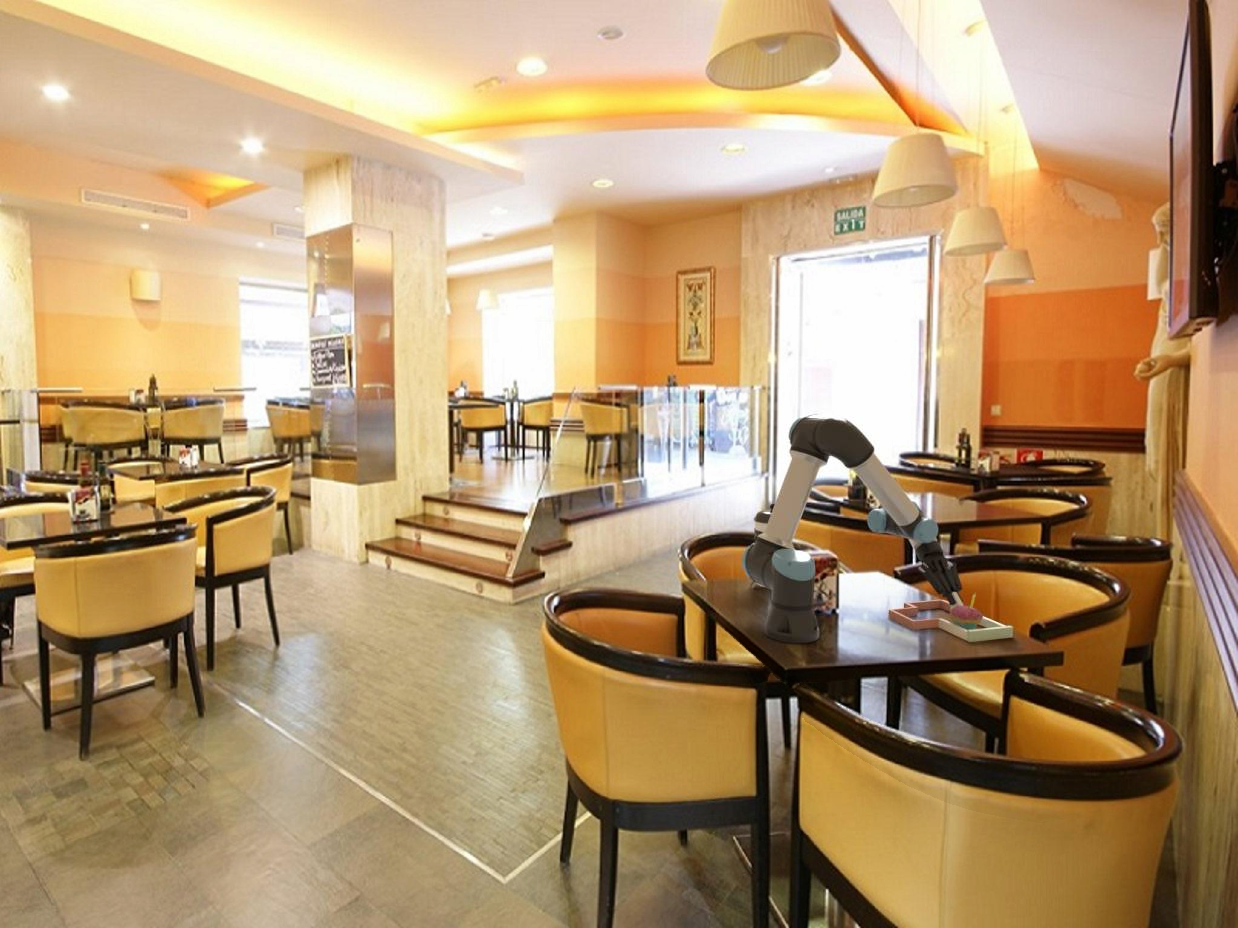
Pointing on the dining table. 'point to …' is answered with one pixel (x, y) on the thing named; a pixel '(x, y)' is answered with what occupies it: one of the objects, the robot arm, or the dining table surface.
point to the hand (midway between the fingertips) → (962, 613)
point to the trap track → (911, 609)
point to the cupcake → (966, 616)
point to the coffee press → (761, 527)
